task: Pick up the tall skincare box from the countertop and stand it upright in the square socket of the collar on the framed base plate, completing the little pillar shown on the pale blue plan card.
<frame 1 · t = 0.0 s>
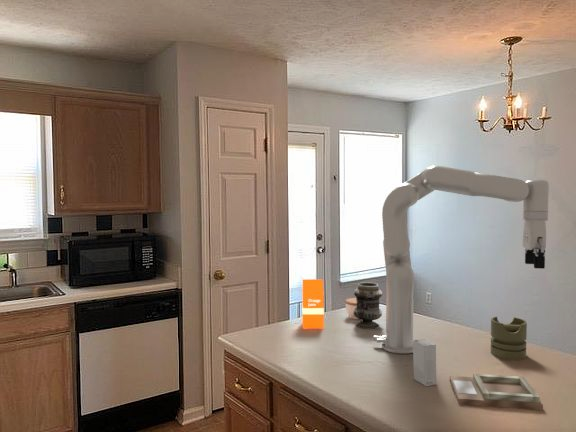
hand: (534, 266, 164), 31 cm above the worktop, tool pointing down, fingers open, 9 cm apart
dark stone vase: (367, 326, 204), on the worktop
piston: (508, 354, 167), on the worktop
framed base plate: (492, 394, 134), on the worktop
lidded jar: (357, 317, 218), on the worktop
orange juice: (312, 326, 204), on the worktop
skincare box: (424, 382, 144), on the worktop
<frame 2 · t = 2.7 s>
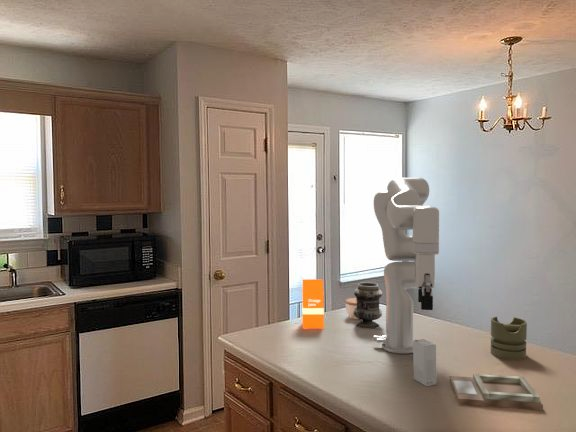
hand: (425, 305, 142), 23 cm above the worktop, tool pointing down, fingers open, 9 cm apart
nothing on the worktop moved.
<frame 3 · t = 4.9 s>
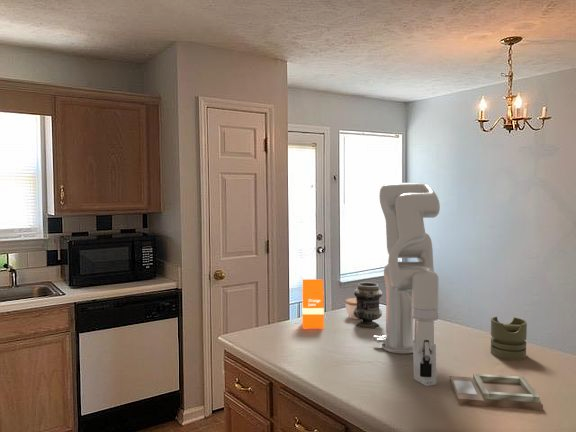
hand: (424, 371, 143), 3 cm above the worktop, tool pointing down, fingers closed on skincare box, 7 cm apart
skincare box: (424, 382, 144), on the worktop, touching gripper
everything else where it was.
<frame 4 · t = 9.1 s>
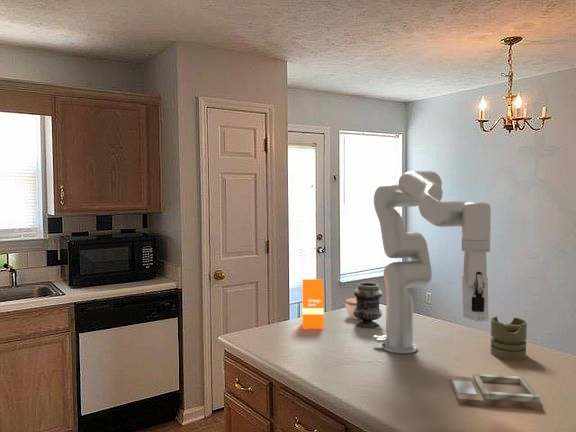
hand: (475, 307, 136), 24 cm above the worktop, tool pointing down, fingers closed on skincare box, 7 cm apart
skincare box: (474, 319, 136), point 21 cm above the worktop, touching gripper
everything else where it was.
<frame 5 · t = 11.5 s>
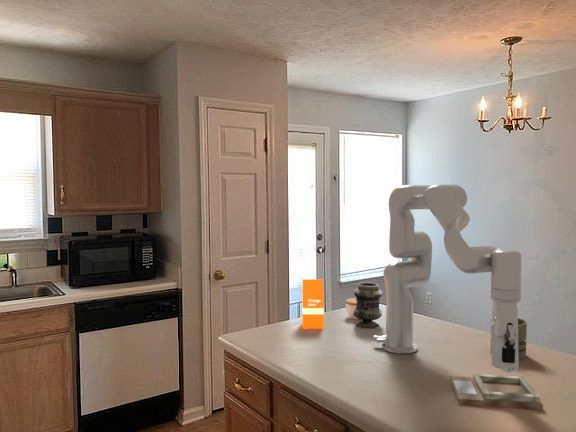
hand: (504, 357, 133), 11 cm above the worktop, tool pointing down, fingers closed on skincare box, 7 cm apart
skincare box: (504, 369, 134), point 7 cm above the worktop, touching gripper
everything else where it was.
when the fingers open (5 cm above the worktop, at t = 13.5 s): skincare box stays where it is, resting on framed base plate.
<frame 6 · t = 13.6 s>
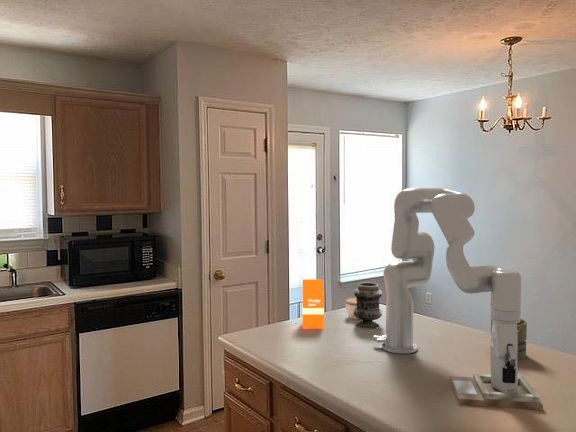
hand: (504, 376, 134), 5 cm above the worktop, tool pointing down, fingers open, 8 cm apart
skincare box: (503, 390, 134), point 1 cm above the worktop, touching framed base plate
everything else where it was.
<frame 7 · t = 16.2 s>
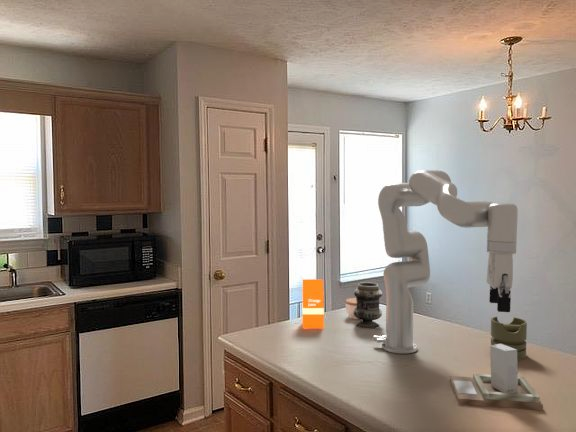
hand: (499, 307, 136), 24 cm above the worktop, tool pointing down, fingers open, 9 cm apart
nothing on the worktop moved.
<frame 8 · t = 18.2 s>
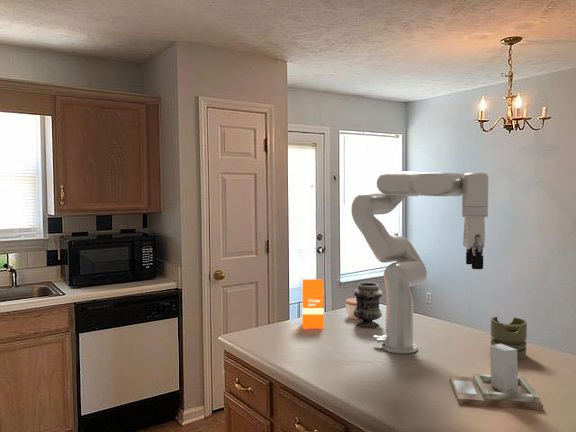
hand: (474, 266, 151), 33 cm above the worktop, tool pointing down, fingers open, 9 cm apart
nothing on the worktop moved.
at the end: skincare box 0.2 cm from the target spot on the framed base plate, point 1.3 cm above the framed base plate's base; skincare box tilted 0°; the gripper is holding nothing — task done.
